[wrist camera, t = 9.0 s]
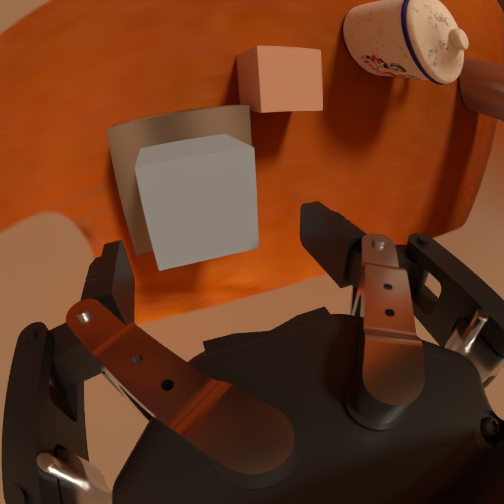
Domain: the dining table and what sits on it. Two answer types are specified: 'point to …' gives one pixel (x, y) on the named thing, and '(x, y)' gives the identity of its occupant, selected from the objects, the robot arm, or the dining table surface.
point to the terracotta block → (280, 79)
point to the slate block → (198, 199)
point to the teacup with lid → (406, 40)
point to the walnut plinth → (160, 132)
